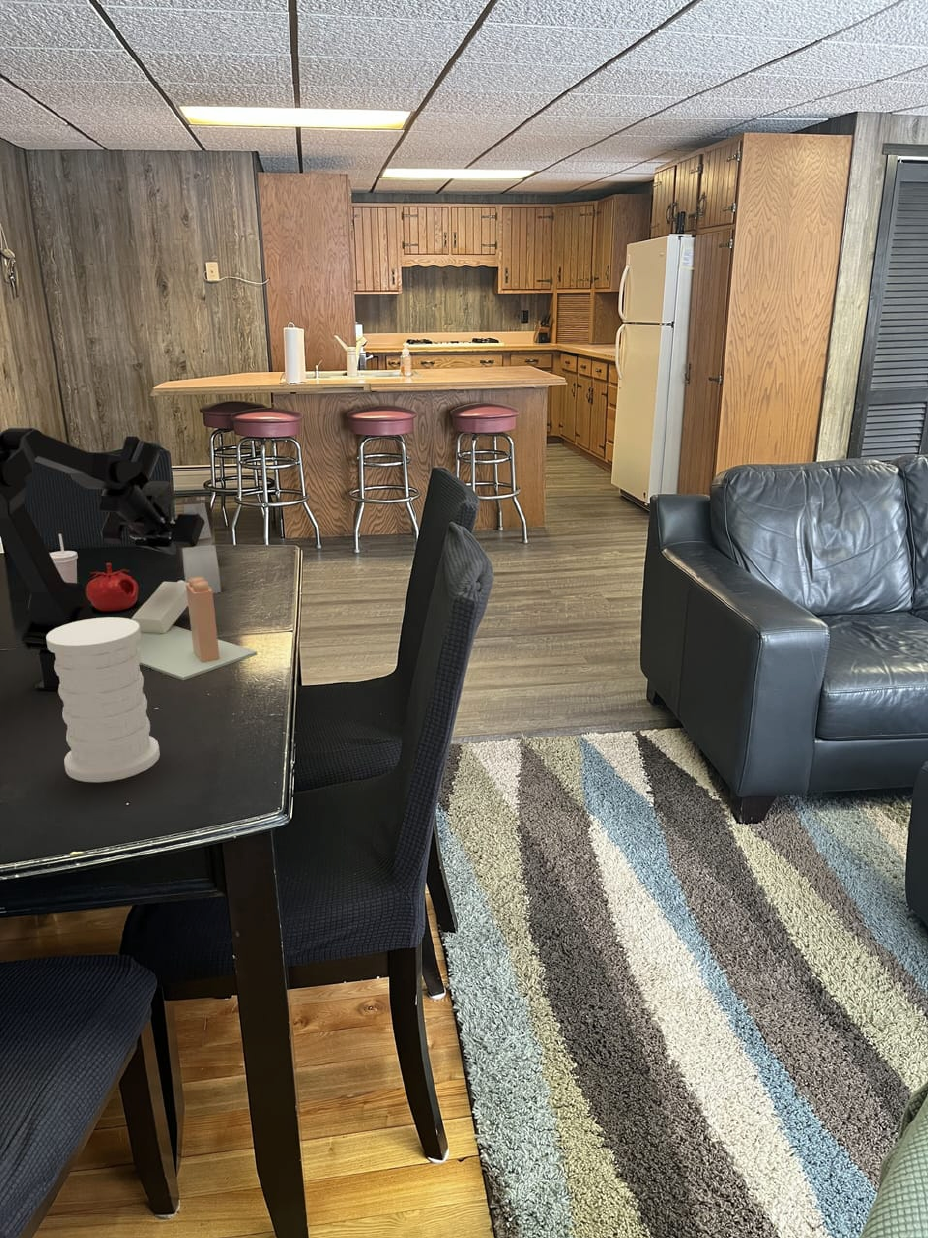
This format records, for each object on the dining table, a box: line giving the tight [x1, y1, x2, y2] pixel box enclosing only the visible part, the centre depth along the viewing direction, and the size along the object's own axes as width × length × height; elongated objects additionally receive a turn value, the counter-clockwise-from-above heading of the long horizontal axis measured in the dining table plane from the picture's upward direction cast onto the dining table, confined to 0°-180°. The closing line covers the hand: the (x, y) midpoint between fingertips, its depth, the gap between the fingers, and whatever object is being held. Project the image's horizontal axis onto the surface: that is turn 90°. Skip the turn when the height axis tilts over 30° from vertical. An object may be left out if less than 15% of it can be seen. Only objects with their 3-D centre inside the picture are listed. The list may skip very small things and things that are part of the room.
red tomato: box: [85, 562, 139, 613], centre depth 179 cm, size 10×10×9 cm
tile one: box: [130, 580, 189, 633], centre depth 168 cm, size 3×6×13 cm
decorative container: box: [46, 616, 161, 783], centre depth 113 cm, size 12×12×18 cm
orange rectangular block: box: [186, 577, 220, 662], centre depth 150 cm, size 3×6×13 cm, turn 28°
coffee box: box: [181, 495, 216, 548], centre depth 210 cm, size 9×6×16 cm
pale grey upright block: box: [181, 544, 222, 594], centre depth 189 cm, size 4×7×10 cm, turn 113°
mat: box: [136, 624, 258, 681], centre depth 156 cm, size 15×29×1 cm, turn 52°
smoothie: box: [49, 533, 79, 583], centre depth 185 cm, size 6×6×14 cm
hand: (174, 552), depth 169 cm, fingers closed
